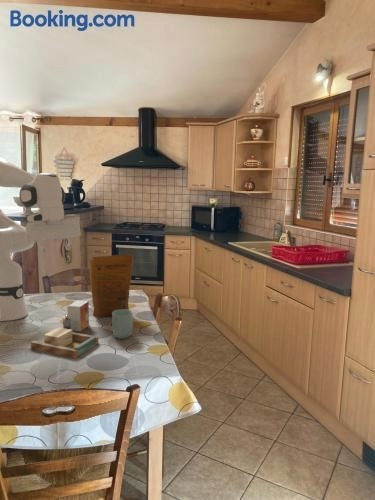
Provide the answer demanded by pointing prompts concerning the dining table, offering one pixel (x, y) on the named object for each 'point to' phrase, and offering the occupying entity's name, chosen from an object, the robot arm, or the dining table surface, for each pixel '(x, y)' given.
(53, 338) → the tan tapered block
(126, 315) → the cup
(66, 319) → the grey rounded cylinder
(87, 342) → the bay
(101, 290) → the pancake mix bag
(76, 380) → the dining table surface
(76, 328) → the small box
